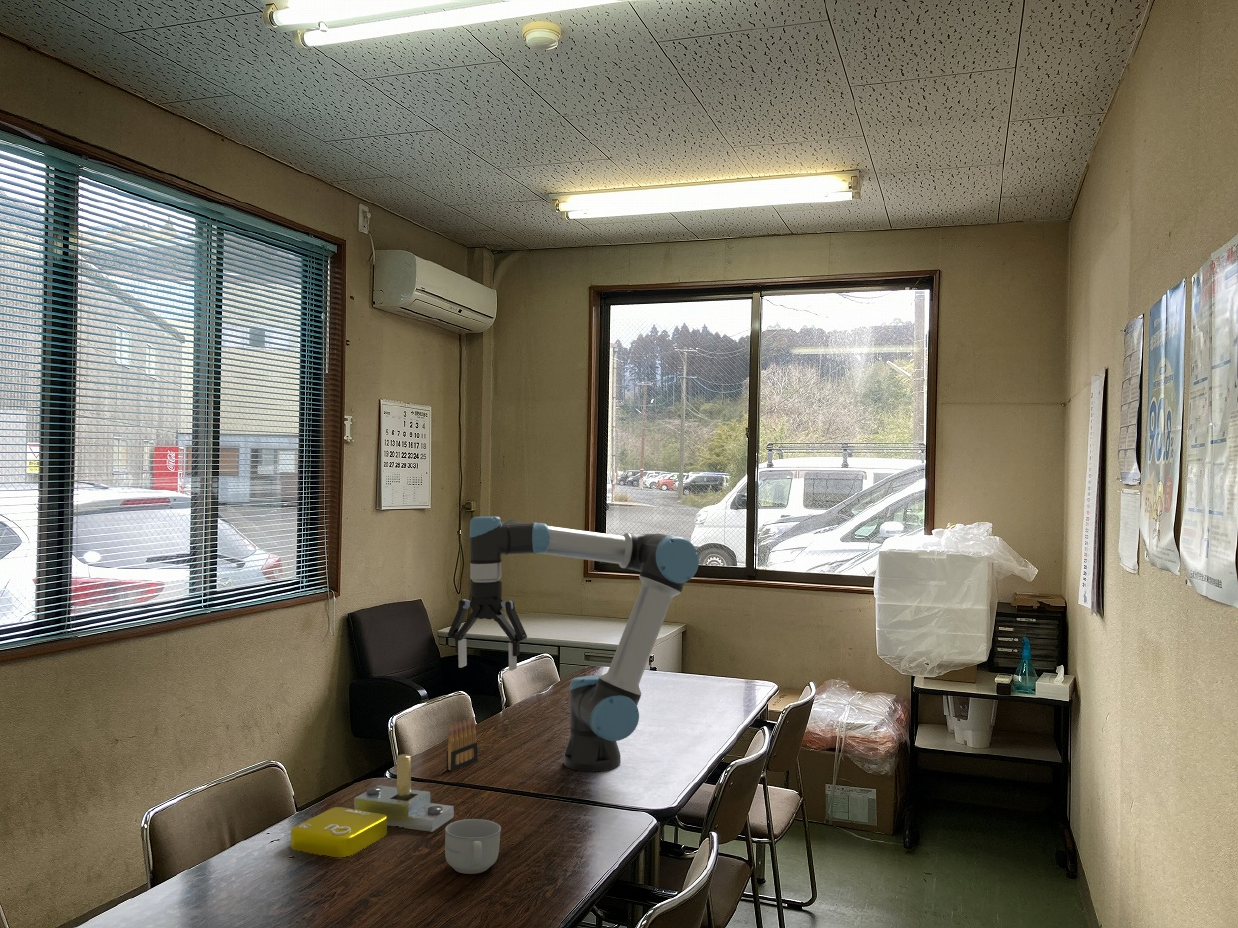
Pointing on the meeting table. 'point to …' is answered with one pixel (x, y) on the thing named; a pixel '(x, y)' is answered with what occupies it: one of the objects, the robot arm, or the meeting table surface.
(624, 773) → the meeting table surface
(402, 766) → the brass pin
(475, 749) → the ammunition clip
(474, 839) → the teacup
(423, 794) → the bolted socket block
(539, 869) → the meeting table surface
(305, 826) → the element tile
